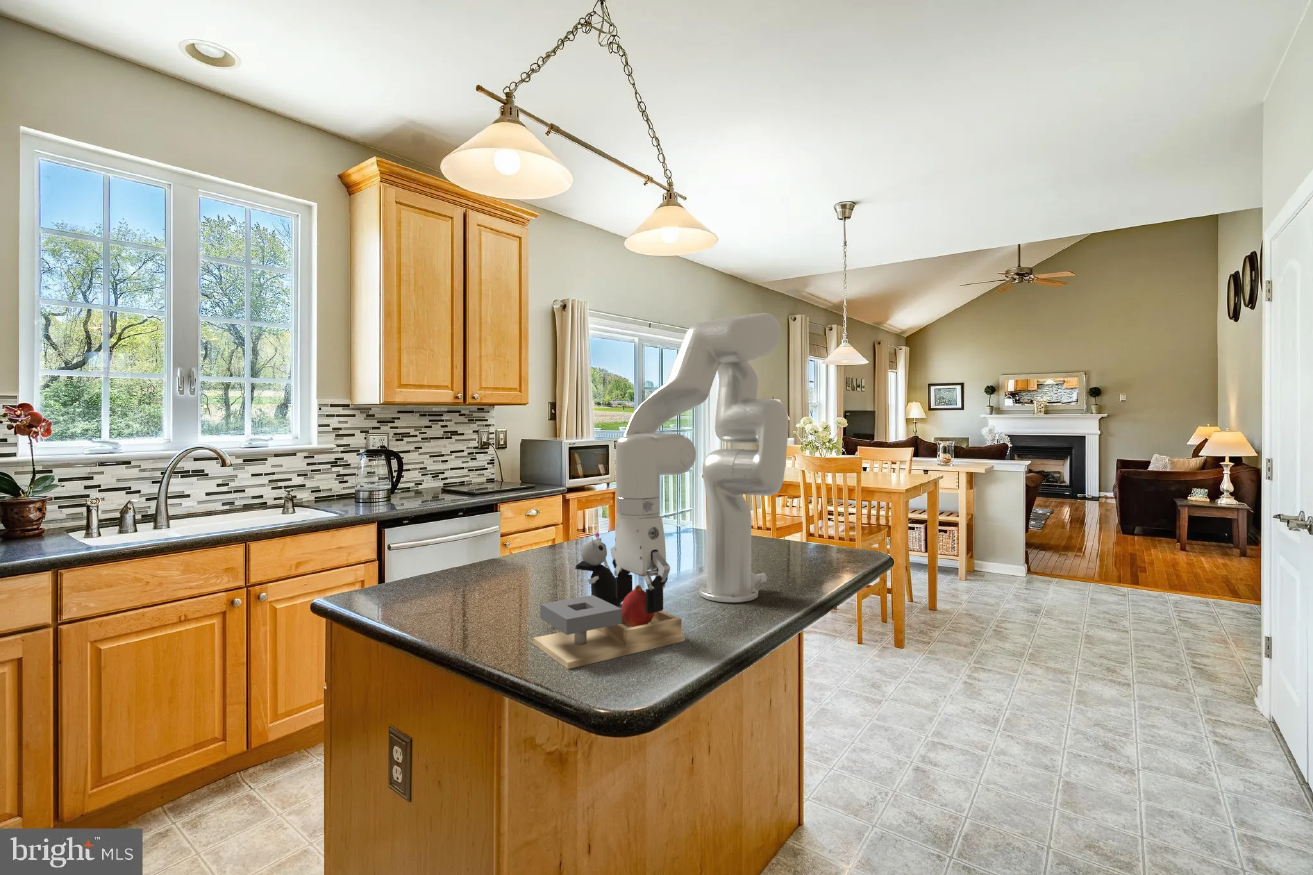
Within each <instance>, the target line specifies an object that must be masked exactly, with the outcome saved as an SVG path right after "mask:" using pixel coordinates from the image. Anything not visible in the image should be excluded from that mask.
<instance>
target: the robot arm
mask: <svg viewBox="0 0 1313 875" xmlns="http://www.w3.org/2000/svg"><path fill="white" fill-rule="evenodd" d="M781 331H782V330H781V325H780V323H779V321H778V319H777V318H776V317H775V315H773V314H771V313H768V312H762V313H761V312H758V313H751V314H742V315H733V316H731V315H730V316H724V317H718V318H715V319H712V320H710V321H709V320H708V321H702V322H697V323H696V324H692V325H691V326H690V327H689V328H688V329H687V331H686V332H685V334H684V337H683V339H682V341H681V345H680V346H679V349H678V352H677V355H676V358H675V360H674V363H673V364H672V367H671V369H670V372H669V374H668V378H667V380H666V381H665V383H663V384H662V385H661V386H659V387H658V388H657V389H656V390H655V391H653V393H651V394H650V395H649V396H648V397H647V398H646V399H645V400H643V402H642V403H640V405H639V406H638V407H637V408H636V410H634V412H633V414H632V415H631V417H630V419H629V422H628V424H627V426H626V428H625V431H624V433H623V434H624V435H623V436H622V437H621V436H620V437H619V438H618V439H617V440H616V444H615V480H616V481H615V484H616V487H615V490H616V491H615V492H616V493H615V494H616V497H615V498H616V504H615V505H616V523H615V534H614V536H615V537H614V546H613V547H611V548H610V554H611V558H612V563H611V564H612V565H613V568H614V570H613V575H614V576H615V578H616V598H617V599H623V598H625V597H626V596H627V595H628V594H629V593H630V592H631V591H633V574H635V575H637V576H640V577H643V579H644V581H645V584H646V586H647V588H646V589H645V592H646V612H647V613H654V612H658V611H664V589H665V588H666V583H668V579H669V578H668V577H669V575H670V571H671V566H670V564H669V563H668V562H667V554H666V553H667V551H666V537H665V531H664V530H665V528H664V524H663V519H662V516H660V515H661V512H660V511H661V510H660V509H661V507H660V505H661V504H660V503H661V501H660V500H661V499H660V498H661V497H660V495H661V494H660V491H661V490H660V476H661V475H666V476H668V475H669V476H678V475H683V474H685V473H686V472H688V471H689V470H690V469H691V468H692V467H693V466H694V463H695V461H696V459H697V458H696V457H697V453H696V452H697V451H696V446H695V444H694V443H693V441H692V440H691V439H690V438H689V437H687V436H686V435H683V434H680V433H665V432H663V433H662V432H657V431H658V430H659V429H660V428H661V427H662V426H663V425H664V424H665V423H667V422H668V421H669V420H671V419H673V418H674V417H676V416H679V415H681V414H683V413H686V412H688V411H690V410H692V409H695V408H697V407H698V406H700V405H702V404H703V403H704V402H706V400H708V397H709V394H710V392H711V389H712V386H713V384H714V380H715V377H716V374H717V375H718V391H717V399H716V400H717V401H716V409H715V418H714V419H715V420H714V421H715V422H714V423H715V424H714V431H715V435H716V437H717V438H718V439H719V440H721V442H725V443H729V444H744V445H746V444H747V445H749V444H751V445H752V444H753V445H758V449H744V448H719V449H715V450H713V451H711V452H710V453H708V454H707V456H705V458H704V460H703V463H702V478H703V483H704V484H703V485H704V489H705V496H706V498H705V499H706V520H707V521H706V584H704V585H701V587H700V588H699V591H698V592H699V595H700V596H701V597H702V598H704V599H706V600H709V601H714V602H719V603H744V602H746V603H747V602H751V601H753V600H756V599H757V598H758V597H759V590H758V589H757V588H756V587H755V586H756V585H757V583H764V582H766V581H767V580H768V576H767V574H766V573H764V572H762V573H756V574H755V572H752V514H751V513H752V512H751V509H750V506H749V504H748V502H747V500H746V498H745V497H744V496H743V495H747V496H749V495H751V496H761V497H762V496H763V497H765V496H766V497H771V496H774V495H776V494H778V493H779V492H780V491H781V489H782V486H783V483H784V480H785V471H786V462H787V461H786V460H787V450H788V439H789V438H788V437H789V417H788V416H789V415H788V412H787V410H786V407H785V406H784V404H783V403H781V402H780V401H779V400H776V399H772V398H760V399H759V398H758V387H759V386H758V384H759V378H758V376H757V373H756V371H755V369H754V368H753V366H752V365H751V364H750V362H749V361H753V360H754V361H755V360H757V359H759V358H762V357H765V356H768V355H770V354H772V353H774V351H775V350H776V349H777V348H778V346H779V344H780V341H781V335H782V332H781ZM631 573H632V574H631ZM653 576H654V578H652V577H653Z"/></svg>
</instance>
